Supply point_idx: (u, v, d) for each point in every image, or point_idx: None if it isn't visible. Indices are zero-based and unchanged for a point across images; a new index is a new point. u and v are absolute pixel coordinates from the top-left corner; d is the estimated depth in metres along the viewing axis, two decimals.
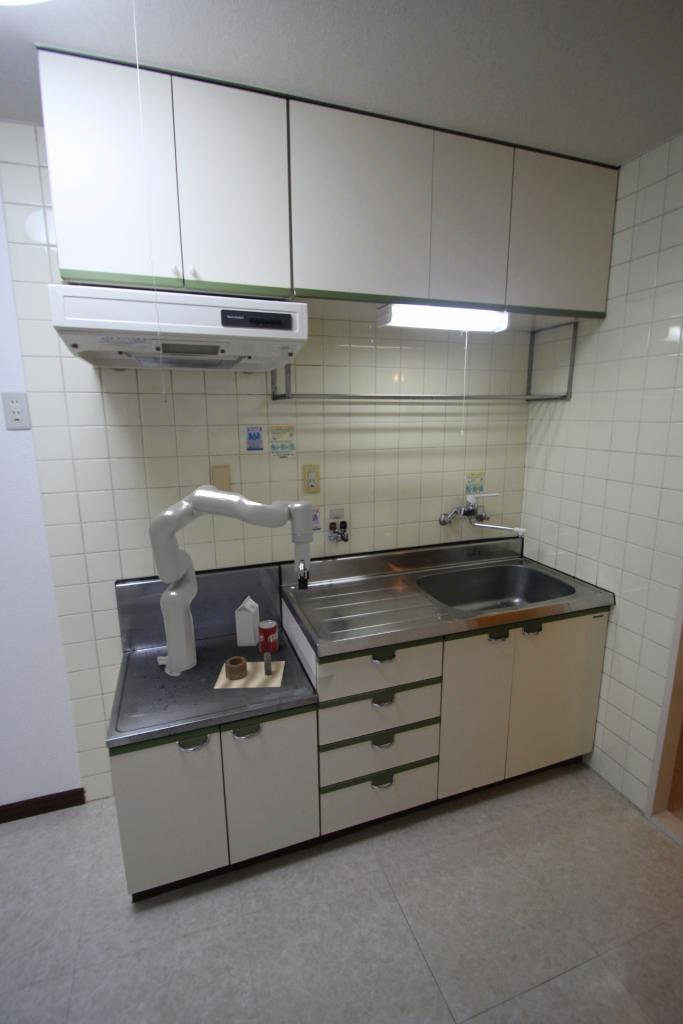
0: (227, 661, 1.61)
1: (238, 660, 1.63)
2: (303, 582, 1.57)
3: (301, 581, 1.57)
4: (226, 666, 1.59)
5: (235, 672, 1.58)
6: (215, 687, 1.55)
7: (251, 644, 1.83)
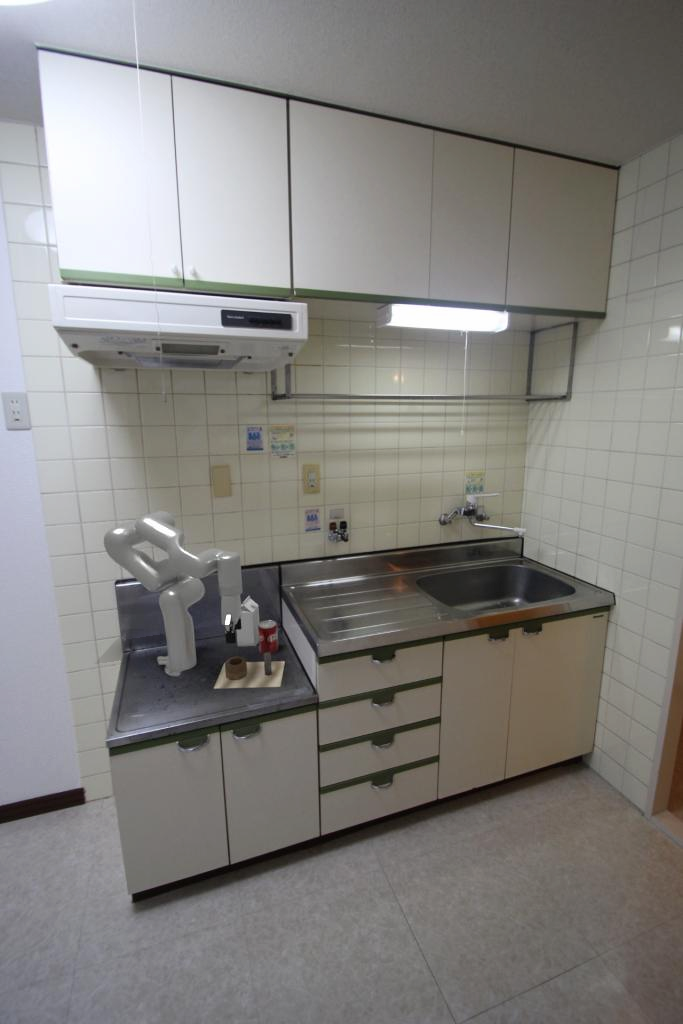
0: (227, 661, 1.61)
1: (238, 660, 1.63)
2: (230, 636, 1.53)
3: (228, 635, 1.52)
4: (226, 666, 1.59)
5: (235, 672, 1.58)
6: (215, 687, 1.55)
7: (251, 644, 1.83)
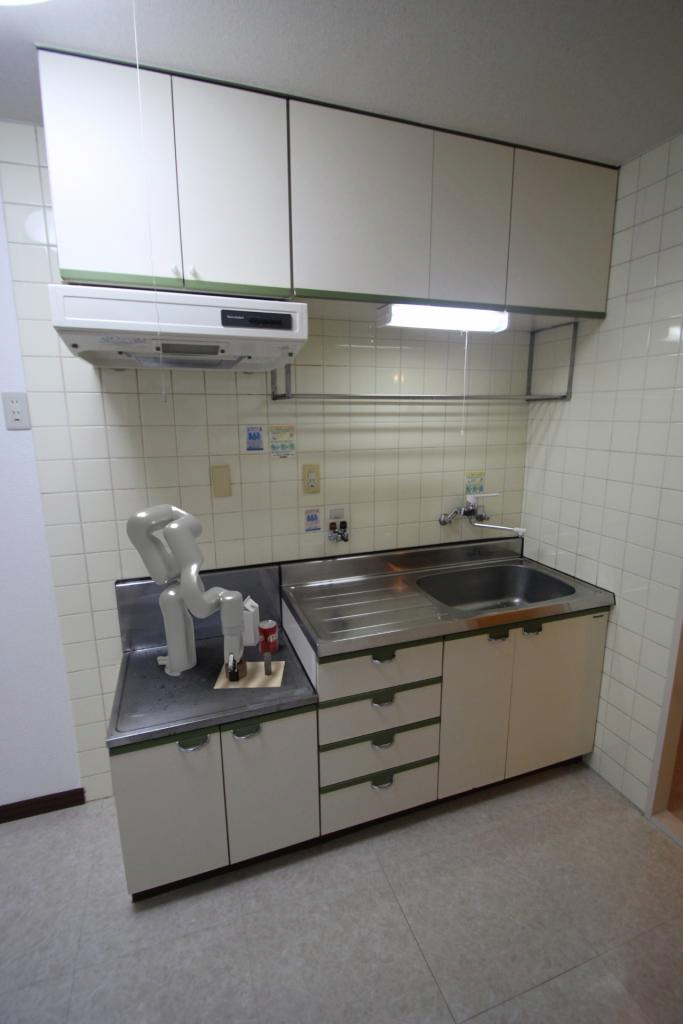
0: None
1: None
2: (234, 675, 1.57)
3: (232, 674, 1.56)
4: (226, 666, 1.59)
5: None
6: (215, 687, 1.55)
7: (251, 644, 1.83)
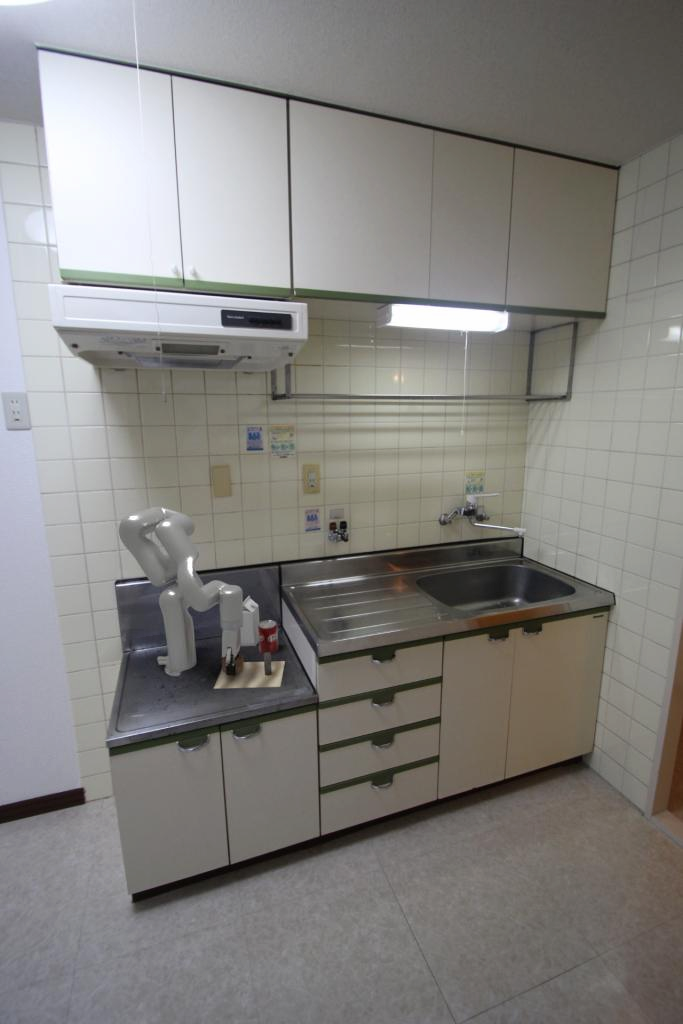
0: None
1: None
2: (230, 669, 1.57)
3: (229, 668, 1.57)
4: (223, 660, 1.59)
5: None
6: (215, 687, 1.55)
7: (251, 644, 1.83)
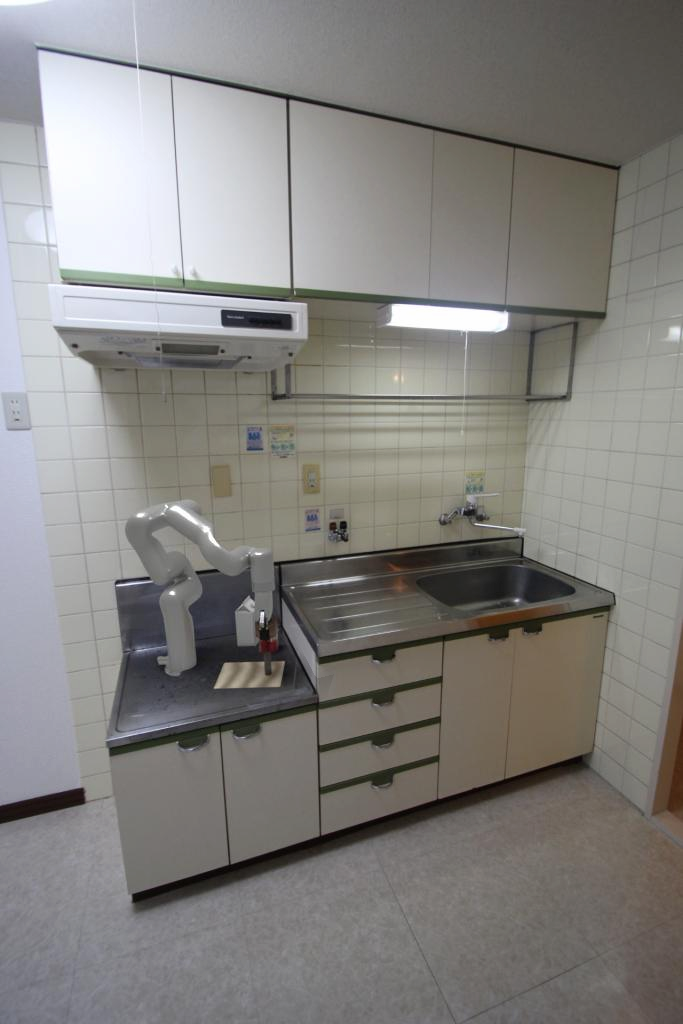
0: None
1: None
2: (264, 633, 1.54)
3: (263, 632, 1.54)
4: (256, 625, 1.56)
5: None
6: (215, 687, 1.55)
7: (251, 644, 1.83)
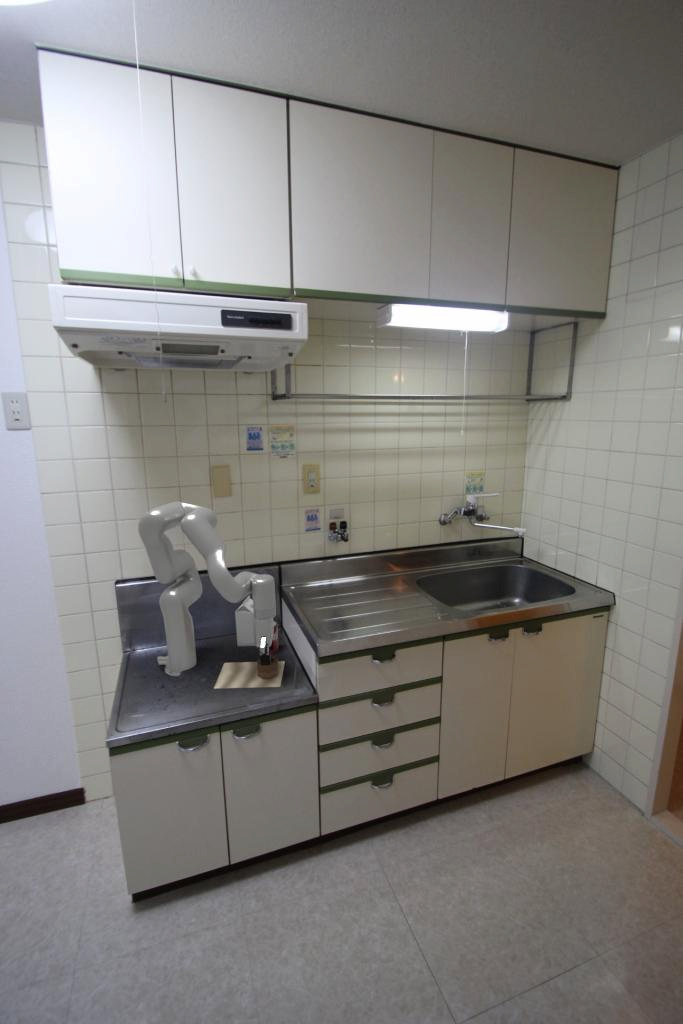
0: (259, 660, 1.61)
1: None
2: (265, 658, 1.54)
3: (263, 657, 1.54)
4: (258, 665, 1.59)
5: (267, 671, 1.58)
6: (215, 687, 1.55)
7: (251, 644, 1.83)
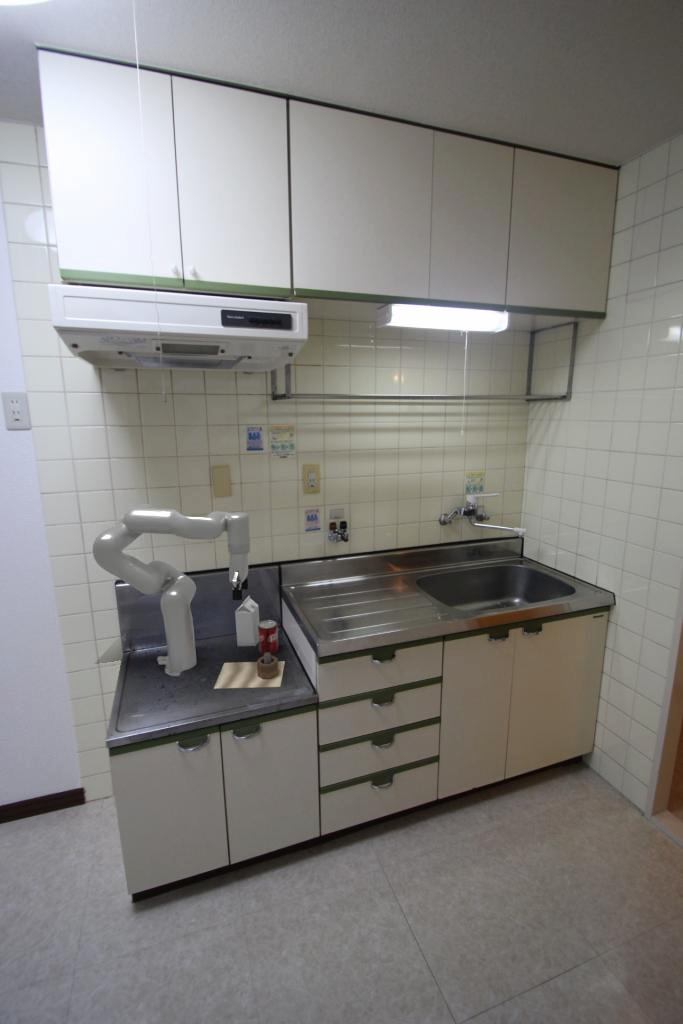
0: (259, 660, 1.61)
1: None
2: (237, 593, 1.59)
3: (235, 592, 1.59)
4: (258, 665, 1.59)
5: (267, 671, 1.58)
6: (215, 687, 1.55)
7: (251, 644, 1.83)
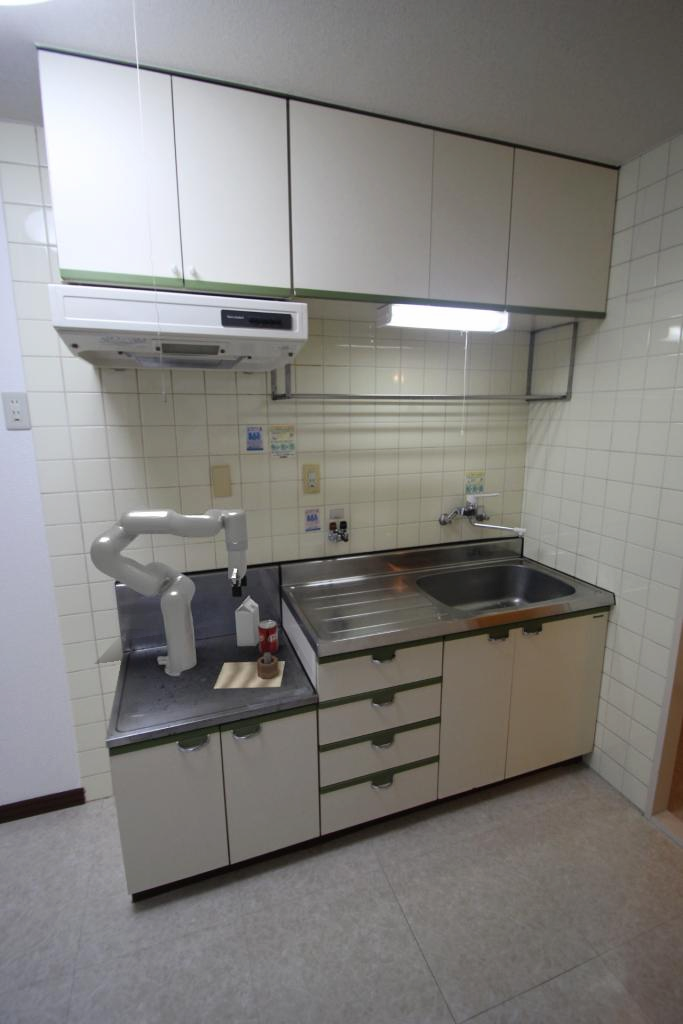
0: (259, 660, 1.61)
1: None
2: (237, 589, 1.60)
3: (235, 589, 1.60)
4: (258, 665, 1.59)
5: (267, 671, 1.58)
6: (215, 687, 1.55)
7: (251, 644, 1.83)
